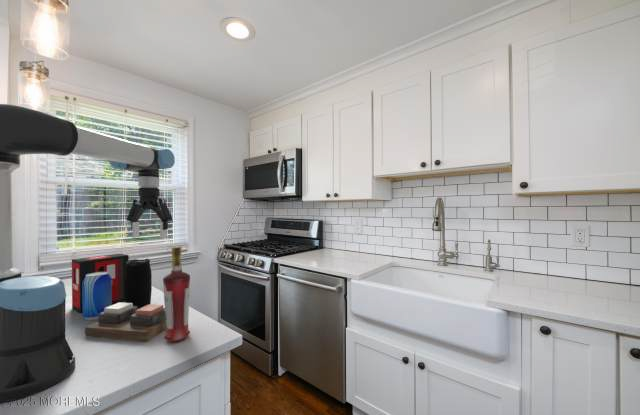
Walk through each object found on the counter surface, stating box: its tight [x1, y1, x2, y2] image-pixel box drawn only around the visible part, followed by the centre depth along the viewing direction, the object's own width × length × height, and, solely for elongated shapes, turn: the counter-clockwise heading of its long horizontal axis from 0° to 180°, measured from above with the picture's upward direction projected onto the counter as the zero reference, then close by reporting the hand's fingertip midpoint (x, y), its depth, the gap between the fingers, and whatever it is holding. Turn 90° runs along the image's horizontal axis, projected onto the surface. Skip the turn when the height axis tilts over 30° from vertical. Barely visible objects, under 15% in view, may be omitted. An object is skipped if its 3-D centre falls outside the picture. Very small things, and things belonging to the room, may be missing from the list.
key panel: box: [84, 306, 166, 343], centre depth 89 cm, size 14×22×6 cm, turn 80°
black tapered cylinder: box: [124, 258, 153, 309], centre depth 107 cm, size 9×9×20 cm
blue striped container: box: [82, 272, 112, 321], centre depth 100 cm, size 8×8×16 cm
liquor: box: [162, 246, 191, 343], centre depth 82 cm, size 7×7×28 cm
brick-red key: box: [136, 303, 164, 316], centre depth 88 cm, size 5×5×2 cm
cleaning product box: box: [71, 253, 130, 314], centre depth 113 cm, size 16×9×20 cm, turn 148°
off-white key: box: [104, 302, 133, 314], centre depth 90 cm, size 5×5×2 cm
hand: (149, 237), depth 113 cm, fingers open, 13 cm apart
